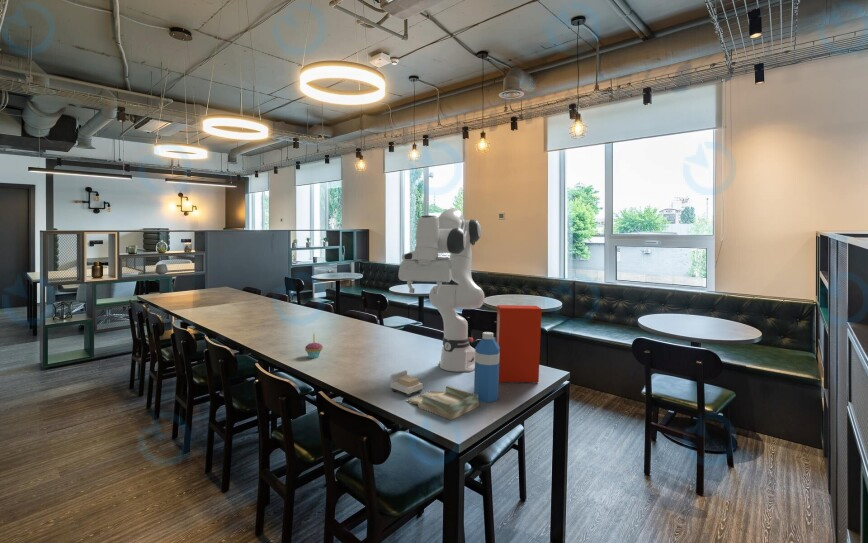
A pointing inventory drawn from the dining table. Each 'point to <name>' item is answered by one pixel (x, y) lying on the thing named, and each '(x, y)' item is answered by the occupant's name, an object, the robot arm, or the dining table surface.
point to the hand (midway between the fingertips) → (423, 293)
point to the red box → (518, 342)
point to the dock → (447, 402)
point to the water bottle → (487, 368)
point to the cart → (405, 383)
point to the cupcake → (313, 349)
